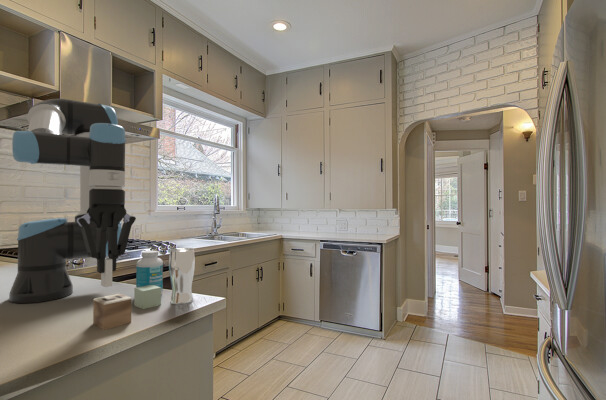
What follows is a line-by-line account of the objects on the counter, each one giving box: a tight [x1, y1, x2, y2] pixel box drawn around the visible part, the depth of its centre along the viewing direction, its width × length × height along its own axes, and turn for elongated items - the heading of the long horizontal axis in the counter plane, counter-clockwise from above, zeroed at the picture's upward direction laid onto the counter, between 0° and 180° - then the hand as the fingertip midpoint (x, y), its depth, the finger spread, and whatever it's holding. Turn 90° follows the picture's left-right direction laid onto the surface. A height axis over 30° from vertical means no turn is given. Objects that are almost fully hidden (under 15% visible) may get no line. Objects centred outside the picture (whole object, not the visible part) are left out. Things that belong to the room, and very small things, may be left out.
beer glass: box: [168, 247, 196, 306], centre depth 97 cm, size 7×7×15 cm
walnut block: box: [92, 293, 132, 331], centre depth 80 cm, size 6×6×6 cm
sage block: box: [133, 285, 162, 310], centre depth 94 cm, size 5×5×5 cm
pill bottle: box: [135, 250, 164, 295], centre depth 103 cm, size 8×7×14 cm
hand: (106, 285), depth 82 cm, fingers closed
